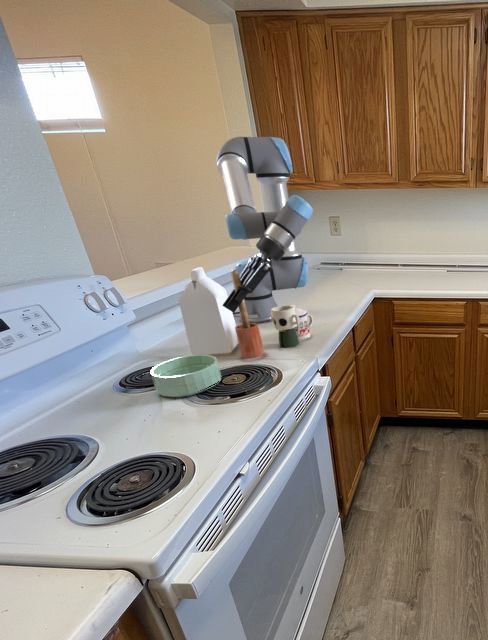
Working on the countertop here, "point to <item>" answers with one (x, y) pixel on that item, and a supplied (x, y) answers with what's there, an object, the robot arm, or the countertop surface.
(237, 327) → the utensil crock
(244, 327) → the stirring stick
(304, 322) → the white patterned mug
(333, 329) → the countertop surface
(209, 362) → the bowl
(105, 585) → the countertop surface
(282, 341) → the character mug
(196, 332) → the milk
